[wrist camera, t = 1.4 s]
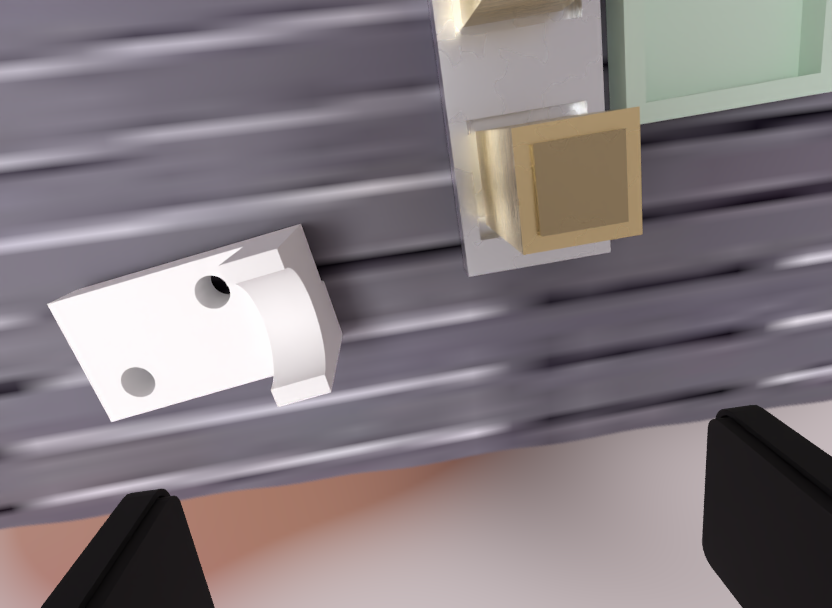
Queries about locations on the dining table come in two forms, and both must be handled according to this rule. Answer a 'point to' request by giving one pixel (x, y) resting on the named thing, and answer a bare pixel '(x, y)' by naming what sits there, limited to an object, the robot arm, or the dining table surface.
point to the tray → (715, 54)
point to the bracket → (207, 327)
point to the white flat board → (511, 104)
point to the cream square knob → (506, 9)
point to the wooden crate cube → (563, 180)
